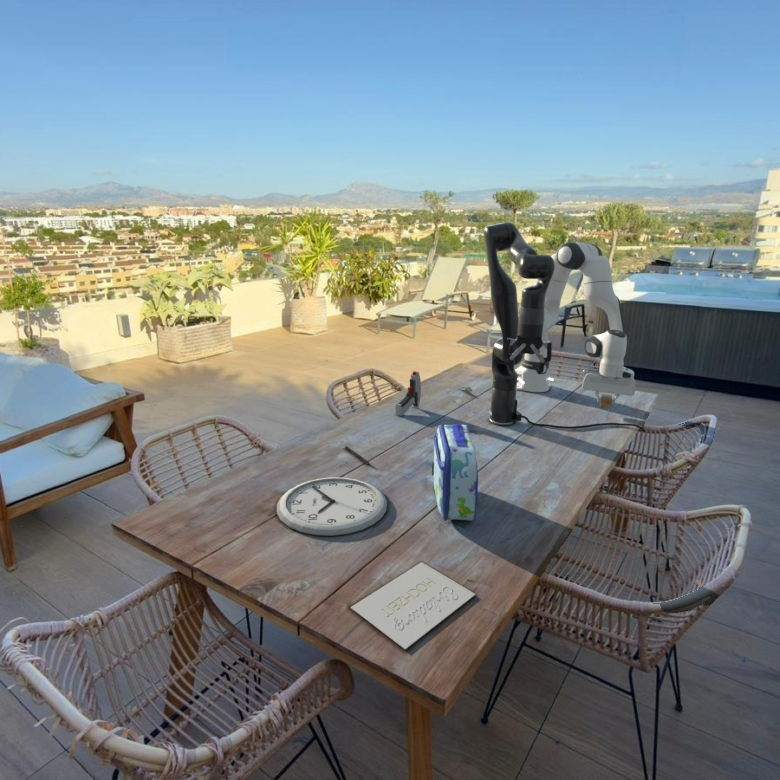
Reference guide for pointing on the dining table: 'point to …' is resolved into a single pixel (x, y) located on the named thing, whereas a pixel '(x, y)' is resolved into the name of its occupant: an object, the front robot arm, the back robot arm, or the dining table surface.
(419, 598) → the invitation card
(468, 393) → the fork
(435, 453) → the lunch box
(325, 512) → the wall clock
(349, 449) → the dark brown stick
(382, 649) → the dining table surface
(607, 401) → the block
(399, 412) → the toy gun
